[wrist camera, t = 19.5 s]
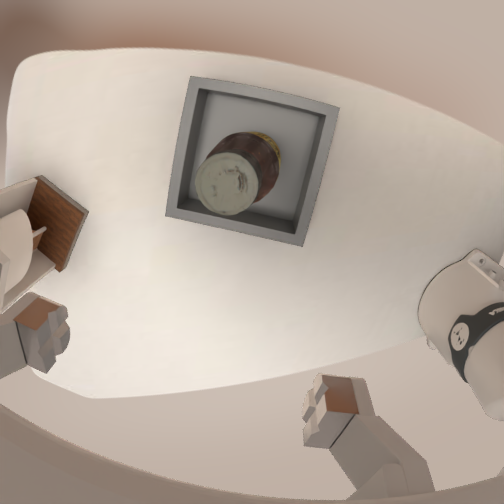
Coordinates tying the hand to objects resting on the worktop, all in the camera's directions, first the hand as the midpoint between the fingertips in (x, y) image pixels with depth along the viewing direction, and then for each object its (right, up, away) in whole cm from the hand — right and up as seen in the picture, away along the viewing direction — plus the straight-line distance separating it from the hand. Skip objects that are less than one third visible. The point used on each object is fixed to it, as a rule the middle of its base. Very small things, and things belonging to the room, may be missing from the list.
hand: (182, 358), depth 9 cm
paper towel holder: (-29, +8, +34) cm, 46 cm away
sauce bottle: (+2, +15, +28) cm, 32 cm away
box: (+2, +15, +29) cm, 33 cm away
